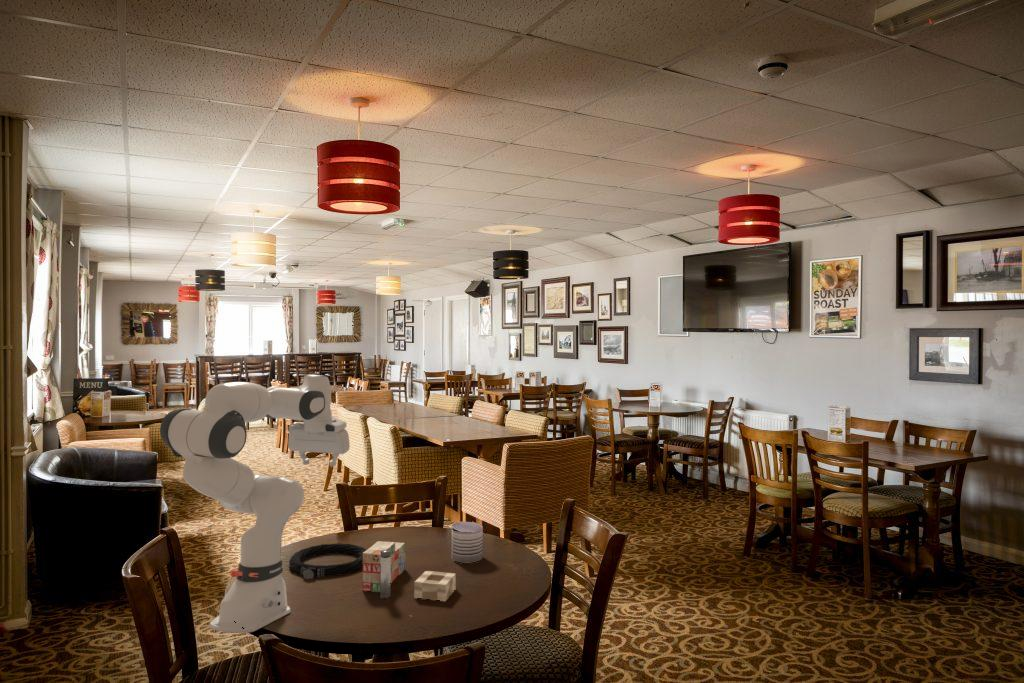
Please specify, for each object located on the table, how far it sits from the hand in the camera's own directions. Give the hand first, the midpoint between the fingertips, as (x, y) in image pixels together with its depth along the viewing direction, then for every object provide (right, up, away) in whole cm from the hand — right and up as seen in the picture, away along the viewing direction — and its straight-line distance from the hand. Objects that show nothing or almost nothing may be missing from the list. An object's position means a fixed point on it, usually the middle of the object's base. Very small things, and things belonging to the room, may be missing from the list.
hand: (319, 465), depth 216 cm
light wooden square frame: (+39, -38, -10) cm, 55 cm away
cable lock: (-1, -38, +15) cm, 41 cm away
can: (+47, -38, +23) cm, 64 cm away
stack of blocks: (+21, -38, +1) cm, 44 cm away
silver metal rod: (+24, -38, -13) cm, 47 cm away
